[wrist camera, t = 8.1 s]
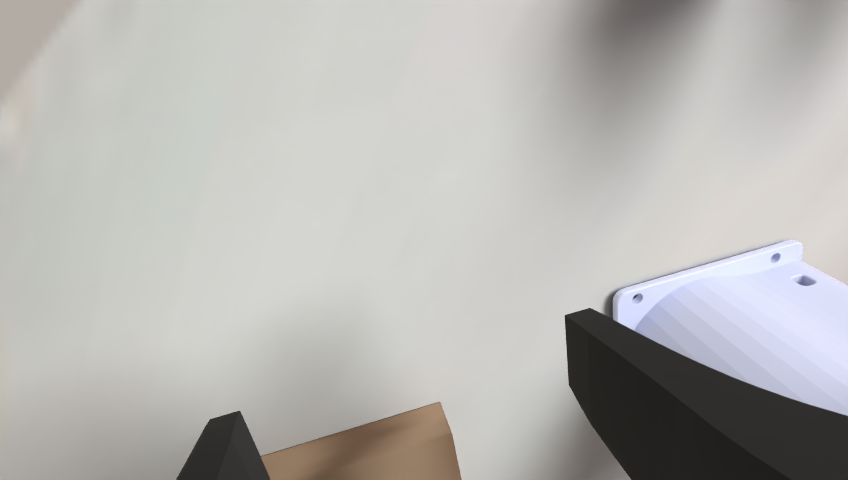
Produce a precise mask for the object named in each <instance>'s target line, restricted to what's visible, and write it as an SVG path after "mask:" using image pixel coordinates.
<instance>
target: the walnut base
mask: <svg viewBox="0 0 848 480" xmlns="http://www.w3.org/2000/svg"><path fill="white" fill-rule="evenodd" d="M261 459H262V461H263V463H264V466H265V468H266V470H267V472H268V475H269V477H270V480H461V475H460V470H459V466H458V461H457V456H456V451H455V446H454V441H453V436H452V433H451V430H450V427H449V425H448V422H447V419H446V417H445V414H444V411H443V409H442V406H441V403H440V402H438V403H435V404H432V405H428V406H425V407H422V408H419V409H415V410H412V411H409V412H405V413H402V414H399V415H396V416H392V417H389V418H386V419H383V420H379V421H376V422H373V423H370V424H366V425H363V426H360V427H356V428H353V429H350V430H347V431H343V432H340V433H337V434H334V435H330V436H327V437H324V438H321V439H317V440H314V441H311V442H307V443H304V444H301V445H298V446H294V447H291V448H288V449H285V450H281V451H278V452H275V453H272V454H268V455H265V456H262V457H261Z"/></svg>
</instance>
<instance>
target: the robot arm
mask: <svg viewBox="0 0 848 480" xmlns="http://www.w3.org/2000/svg"><path fill="white" fill-rule="evenodd" d="M802 252H803V245H802V244H801V243H799V242H797V241H795V240H788V241H785V242H781V243H778V244H774V245H771V246H767V247H764V248H760V249H757V250H754V251H750V252H747V253H743V254H740V255H736V256H733V257H730V258H726V259H723V260H719V261H716V262H712V263H709V264H705V265H702V266H699V267H695V268H692V269H688V270H685V271H681V272H678V273H674V274H671V275H668V276H664V277H661V278H657V279H654V280H650V281H647V282H644V283H640V284H637V285H633V286H630V287H626V288H623V289H621V290H619V291H618V292H617V293H616V294H615V295H614V297H613V319H611V318H609V317H607V316H605V315H603V314H601V313H599V312H597V311H595V310H593V309H591V308H588V309H585V310H581V311H578V312H575V313H571V314H568V315H565V327H566V344H567V361H568V378H569V386H570V388H571V389H572V391H573V393H574V395H575V397H576V399H577V401H578V402H579V404H580V406H581V408H582V409H583V411H584V413H585V415H586V416H587V418H588V420H589V422H590V423H591V425H592V426H593V428H594V429H595V430H596V432H597V433H598V435H599V436H600V437H601V439H602V440H603V442H604V443H605V444H606V446H607V447H608V448H609V450H610V451H611V452H612V454H613V455H614V457H615V458H616V459H617V461H618V462H619V463H620V465H621V466H622V467H623V469H624V470H625V471H626V473H627V474H628V475H629V477H630V478H631V480H848V285H846V284H844V283H842V282H840V281H838V280H836V279H834V278H833V277H831V276H829V275H827V274H825V273H823V272H821V271H819V270H817V269H816V268H814V267H812V266H810V265H808V264H806V263H804V262H802V261H801V258H802ZM636 294H637V296H636V297H635V298H634V299H633V297H634V296H635V295H636ZM176 480H270V477H269V475H268V472H267V470H266V468H265V466H264V463H263V461H262V459H261V457H260V454H259V452H258V450H257V448H256V445H255V443H254V441H253V439H252V436H251V434H250V432H249V430H248V428H247V425H246V423H245V421H244V419H243V416H242V414H241V412H240V411H237V412H234V413H230V414H227V415H223V416H220V417H217V418H213V419H210V420H209V422H208V424H207V425H206V427H205V429H204V430H203V432H202V434H201V436H200V438H199V439H198V441H197V443H196V445H195V447H194V449H193V450H192V452H191V454H190V456H189V458H188V459H187V461H186V463H185V465H184V467H183V468H182V470H181V472H180V474H179V476H178V477H177V479H176Z"/></svg>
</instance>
